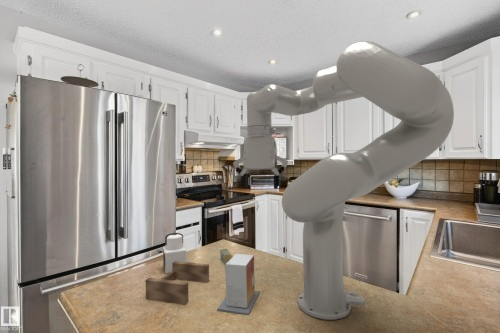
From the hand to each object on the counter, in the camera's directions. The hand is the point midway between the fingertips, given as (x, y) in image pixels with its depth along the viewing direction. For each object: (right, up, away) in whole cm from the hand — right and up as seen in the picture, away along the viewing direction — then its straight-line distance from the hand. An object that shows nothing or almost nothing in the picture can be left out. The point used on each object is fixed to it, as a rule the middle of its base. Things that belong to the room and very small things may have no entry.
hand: (260, 188), depth 77 cm
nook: (-24, -29, -5) cm, 38 cm away
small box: (-6, -28, -12) cm, 31 cm away
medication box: (-11, -29, +13) cm, 34 cm away
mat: (-6, -28, -12) cm, 31 cm away
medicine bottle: (-30, -29, +10) cm, 43 cm away
